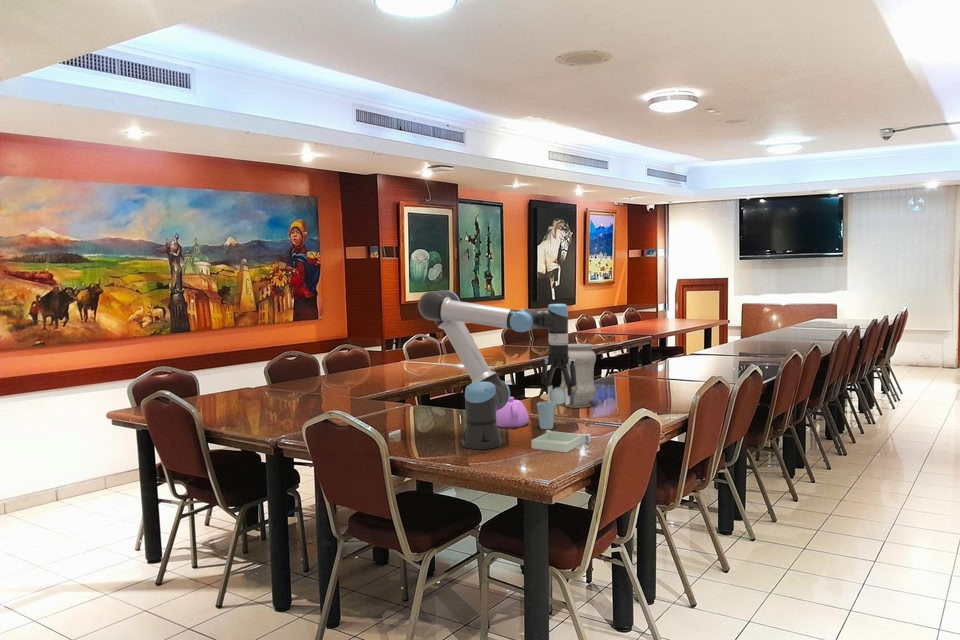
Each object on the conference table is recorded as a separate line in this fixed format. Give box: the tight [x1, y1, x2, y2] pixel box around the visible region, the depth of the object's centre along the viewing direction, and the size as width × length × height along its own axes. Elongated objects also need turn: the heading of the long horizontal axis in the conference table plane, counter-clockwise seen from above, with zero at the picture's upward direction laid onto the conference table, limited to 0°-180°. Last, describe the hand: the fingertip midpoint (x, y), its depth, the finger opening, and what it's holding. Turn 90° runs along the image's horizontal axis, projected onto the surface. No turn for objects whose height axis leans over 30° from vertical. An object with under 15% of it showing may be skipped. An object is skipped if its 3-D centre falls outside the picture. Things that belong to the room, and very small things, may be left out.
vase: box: [559, 343, 597, 409], centre depth 335 cm, size 18×18×30 cm
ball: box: [550, 386, 565, 405], centre depth 266 cm, size 6×6×6 cm
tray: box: [530, 432, 583, 453], centre depth 259 cm, size 14×14×3 cm
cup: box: [536, 401, 556, 430], centre depth 290 cm, size 8×8×10 cm
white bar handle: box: [544, 429, 591, 444], centre depth 267 cm, size 18×2×3 cm, turn 59°
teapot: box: [496, 396, 530, 429], centre depth 299 cm, size 22×16×12 cm
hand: (558, 403), depth 267 cm, fingers closed on ball, 6 cm apart
